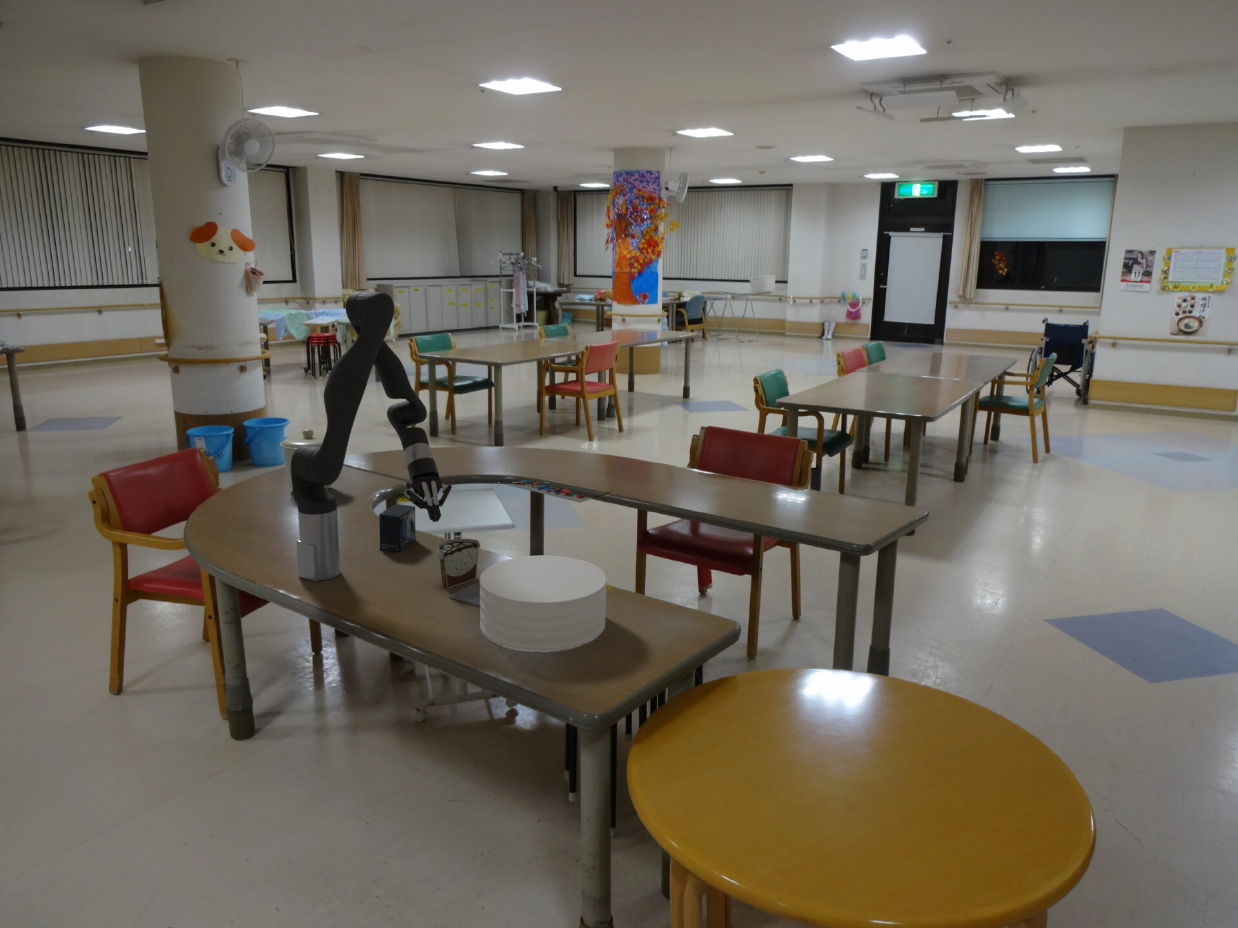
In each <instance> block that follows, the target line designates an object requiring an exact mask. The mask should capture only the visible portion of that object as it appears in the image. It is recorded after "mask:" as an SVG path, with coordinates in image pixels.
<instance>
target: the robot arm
mask: <svg viewBox="0 0 1238 928" xmlns="http://www.w3.org/2000/svg"><path fill="white" fill-rule="evenodd" d="M345 314H346V317H347V319H348V321H349V323H350V325H351V326H352V328H353V330H354V331H355V334H356V335H357V337H356V339H355V340H354V341H353V343H352V345H351V346H350V347H349V348H348V349H347V350H346V351H345V352H344V353H343V354H342V355H341V356H340V358H338V359H337V361H336V362H335V363H334V365H333V366H332V368H331V370H330V372H329V376H328V378H327V381H326V384H325V387H324V390H323V403H324V409H325V414H326V430H325V434H324V435H325V437H324V440H323V443H322V445H321V447H320V446H314V445H302V446H300V447H298V448H297V449H296V450H295V452H294V453H293V456H292V459H291V479H292V487H293V490H292V492H293V494H292V495H293V497H294V498H293V499H294V501H295V503H296V505H297V515H298V517H297V518H298V533H299V539H298V540H297V541H296V555H297V557H296V558H297V559H296V560H297V569H298V571H297V573H298V577H299V578H302V579H305V580H309V581H311V582H319V581H323V580H329V579H333V578H337V576H339V575H340V573H341V561H340V540H339V519H338V516H339V515H338V501H337V497H336V496H335V495H334V494H332V493H331V492H330V491H329V489H328V490H327V489H326V488H325V486H324V485H331V484H332V485H333V484H334V483H335V482H336V481H337V480H338V479H339V476H340V475H341V474H342V473H341V472H342V470H343V467H344V463H345V460H346V459H345V458H346V454H347V450H348V447H349V446H348V445H349V440H350V437H351V434H352V429H353V426H354V424H355V421H356V420H355V419H356V417H357V413H358V410H359V407H360V405H361V402H362V400H363V397H364V394H365V390H366V388H367V385H368V382H369V378H370V376H371V373H372V370H373V367H374V368H375V370H376V371H377V375H378V377H379V380H380V383H381V385H382V387H383V390H384V393H385V395H386V396H387V398H388V399H391V400H404V401H400V402H396V403H393V404H391V405H390V406H389V407H388V408H387V411H386V415H387V416H386V417H387V419H388V422H389V423H390V425H391V426H392V428H393V430H395V432H396V433H397V436H398V438H399V440H400V442H401V446H402V447H401V448H402V450H403V453H404V461H405V466H406V468H407V473H408V475H409V479H410V480H409V481H410V488H408V489H406V491H405V493H404V498H406V499H407V500H408V501H410V502H411V503H412V504H413V505H414V506H415V507H417V508H419V510H424V509H425V510H427V511H426V512H427V514H428V518H429V520H430V521H432V522H433V523H436V522H439V520H440V519H441V517H442V512H441V510H440V507H443V505H444V504H445V502H446V500H447V498H448V496H449V495H450V493H451V490H452V488H453V486H452V484H445V483H444V482H443V480H442V478H440V475H439V471H438V466H437V463H436V460H435V457H434V453H433V450H432V449H431V446H430V442H429V439H428V437H427V436H428V435H427V432H426V430H425V429H424V428H422V427H419V426H418V427H416V426H414V425H418V424H421V423H424V422H425V420H426V419H427V416H428V412H427V411H428V410H427V407H426V406H425V404H424V402H423V401H422V399H421V398H420V397H419V396H418V395H417V393H416V392H415V391H414V389H413V387H412V385H411V382H410V380H409V378H408V375H407V372H406V369H405V366H404V365H403V363H402V361H401V360H400V358H399V356H398V355H397V353H395V352H394V351H393V349H392V348H391V347H390V346H389V345H388V343H387V342H386V341H385V338H386V336H387V333H388V331H389V329H390V328H391V325H392V322H393V320H394V315H395V303H394V300H393V298H392V296H390V294H388V293H386V292H381V291H380V292H379V291H363V290H362V291H361V290H360V291H354V292H352V293H351V294H349V296H348V297H347V299H346V301H345ZM332 485H331V486H332ZM440 491H441V492H442V495H441V498H440V499H439V493H440Z"/></svg>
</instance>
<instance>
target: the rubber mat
mask: <svg viewBox="0 0 1238 928" xmlns="http://www.w3.org/2000/svg"><path fill="white" fill-rule="evenodd" d="M449 599H452V600H455V601H459V602H462V603H466V604H469V605H472V606H476V607H479V608H480V580H479V581H477V582H475V583H473V584H471V585H468V586H467V587H465V588H462V589H460V590H459V591H456V592H455V593H452V594H450V595H449Z"/></svg>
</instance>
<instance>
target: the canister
mask: <svg viewBox="0 0 1238 928" xmlns="http://www.w3.org/2000/svg"><path fill="white" fill-rule="evenodd" d="M324 437H325V434H324V435H323V434H315V433H314V431H313V429H311V428H304V429H303V431H302V434H300V435H294V436H290V437H287V438H285V439H284V440H283V441H281V442H280V443H279V446H280V447H281V449H282V456H283V460H284V467H285V471H286V477H287V482H288V485H289V487H290V489H291V491H293V487H292V479H291V459H292V456H293V453H294V452H295V450H296V449H297V448H298V447H300V446H302V445H314V446H320V447H321V445H322V443H323V440H324ZM332 485H333V484H331V485H324V486H325V488H326V489H327V490H328V491H329V489H330V488H331V486H332Z"/></svg>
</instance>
